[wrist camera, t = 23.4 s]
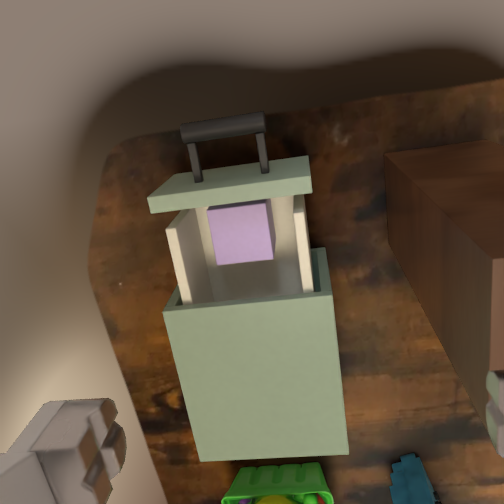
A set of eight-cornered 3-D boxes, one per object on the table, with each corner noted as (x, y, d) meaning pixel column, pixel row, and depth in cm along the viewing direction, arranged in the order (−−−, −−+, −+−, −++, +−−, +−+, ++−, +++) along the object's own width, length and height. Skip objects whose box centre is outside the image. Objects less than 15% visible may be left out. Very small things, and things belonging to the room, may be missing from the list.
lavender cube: (225, 245, 40) (216, 265, 36) (215, 195, 39) (205, 210, 35) (276, 239, 40) (273, 259, 35) (269, 188, 38) (265, 202, 34)
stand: (388, 243, 41) (487, 432, 20) (383, 153, 38) (492, 259, 17) (483, 233, 40) (698, 421, 19) (486, 139, 37) (741, 233, 16)
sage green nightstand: (189, 262, 43) (161, 311, 34) (325, 246, 42) (332, 295, 33) (217, 390, 48) (199, 462, 40) (339, 381, 47) (349, 454, 38)
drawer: (163, 122, 38) (131, 134, 31) (302, 100, 36) (303, 108, 29) (204, 313, 44) (186, 360, 37) (324, 301, 43) (330, 349, 35)
